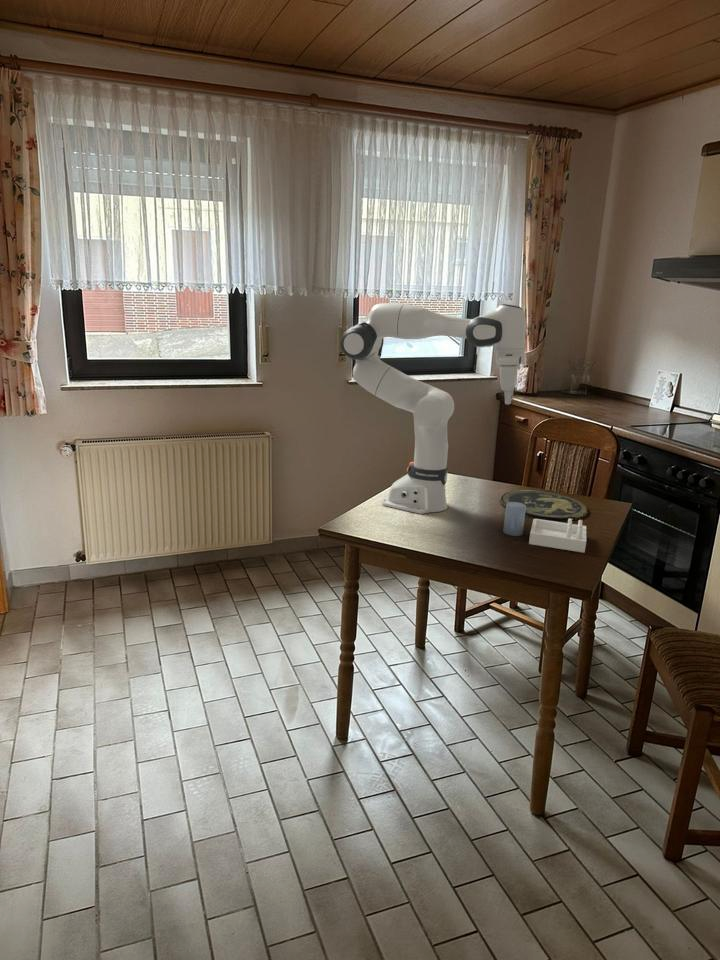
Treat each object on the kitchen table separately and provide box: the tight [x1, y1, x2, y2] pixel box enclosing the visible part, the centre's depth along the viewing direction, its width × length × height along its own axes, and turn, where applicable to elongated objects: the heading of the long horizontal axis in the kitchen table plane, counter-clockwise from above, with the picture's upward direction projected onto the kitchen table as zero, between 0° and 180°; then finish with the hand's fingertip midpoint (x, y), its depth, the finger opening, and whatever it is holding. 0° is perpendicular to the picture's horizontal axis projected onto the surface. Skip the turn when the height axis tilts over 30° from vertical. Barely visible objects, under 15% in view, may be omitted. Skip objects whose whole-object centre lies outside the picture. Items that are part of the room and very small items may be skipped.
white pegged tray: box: [528, 518, 587, 553], centre depth 204 cm, size 16×14×6 cm
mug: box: [502, 502, 526, 537], centre depth 208 cm, size 6×8×9 cm
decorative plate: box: [499, 489, 589, 522], centre depth 236 cm, size 30×2×30 cm
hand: (508, 402), depth 212 cm, fingers open, 8 cm apart
